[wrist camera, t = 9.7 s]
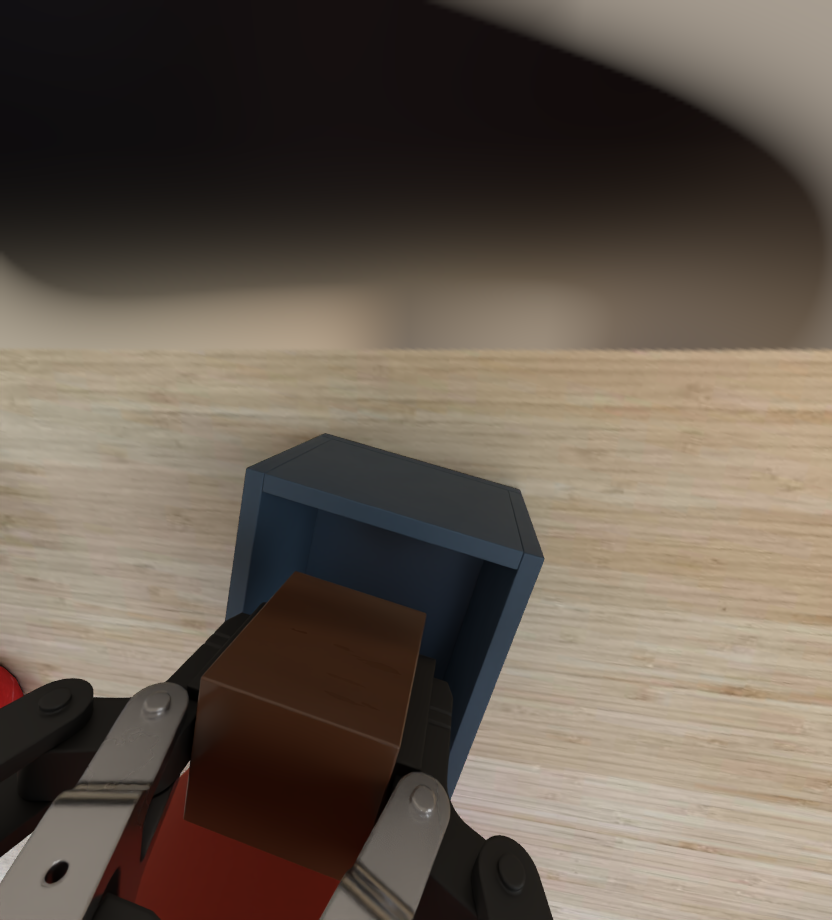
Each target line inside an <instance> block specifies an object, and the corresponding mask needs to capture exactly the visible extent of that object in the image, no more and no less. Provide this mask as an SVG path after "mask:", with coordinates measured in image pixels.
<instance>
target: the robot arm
mask: <svg viewBox="0 0 832 920" xmlns="http://www.w3.org/2000/svg"><path fill="white" fill-rule="evenodd" d="M266 603H267V602H262V603H261V604H260V605H259V606H258V607H257V609H256V610H255V611H254V612H253V613H252V614H251V615H249V614H246V613H243V612H242V613H240V614H238V615H236V616H234V617H232V618H230V619H228V620H226V621H225V622H224V623H223V624H222V625H221V626H220V627H219V628H218V629H217V630H216V631H215V633H214V634H212V635H211V636H210V637H209V638H208V640H207V641H206V642H205V644H203V645H202V646H201V647H200V648H199V649H198V650H197V651H196V652H195V653H194V654H193V655H192V656H191V657H190V658H189V659H188V660H187V661H186V662H185V663H184V664H183V665H182V666H181V667H180V668H179V669H178V670H177V671H176V672H175V673H174V674H173V675H172V676H171V677H170V678H169V679H168V680H167V681H166V682H164V683H158V684H154V685H151V686H148V687H146V688H144V689H142V690H141V691H139V692H138V693H136V694H135V695H134V696H133V697H130V698H100V697H93V688H92V686H91V684H90V683H88V682H87V681H85V680H82V679H75V678H70V679H62V680H58V681H54V682H51V683H48V684H46V685H44V686H42V687H40V688H38V689H36V690H34V691H32V692H30V693H28V694H26V695H24V696H23V697H21V698H19V699H17V700H15V701H13V702H11V703H9V704H7V705H6V706H4V707H2V708H0V857H1V856H3V855H4V854H5V853H7V852H8V851H9V850H10V849H12V848H13V847H14V846H16V845H17V844H18V843H19V842H21V841H22V840H23V839H24V838H26V837H27V836H28V835H30V834H31V833H32V832H33V831H34V832H33V833H32V835H31V836H30V838H29V839H28V841H27V842H26V844H25V846H24V847H23V849H22V850H21V852H20V853H19V855H18V856H17V858H16V860H15V861H14V863H13V864H12V866H11V867H10V869H9V870H8V872H7V873H6V875H5V877H4V878H3V880H2V881H1V883H0V920H161V919H160V918H159V917H158V916H157V915H156V914H155V912H154V911H152V910H150V909H147V908H145V907H143V906H140V905H138V904H135V900H136V896H137V892H138V888H139V884H140V881H141V878H142V875H143V872H144V869H145V866H146V864H147V861H148V859H149V856H150V853H151V851H152V848H153V846H154V843H155V841H156V838H157V836H158V833H159V831H160V828H161V825H162V823H163V820H164V818H165V815H166V813H167V810H168V808H169V805H170V803H171V800H172V797H173V795H174V792H175V790H176V787H177V785H178V782H179V778H180V773H181V772H182V771H183V769H184V768H185V766H186V765H187V764H188V762H189V761H190V760H191V752H192V744H193V736H194V728H195V720H196V712H197V704H198V696H199V688H200V680H201V677H202V676H203V674H204V673H205V672H206V671H207V670H208V669H209V668H210V667H211V665H212V664H213V663H214V662H215V661H216V660H217V659H218V657H219V656H220V655H221V654H222V653H223V652H224V651H225V650H226V648H227V647H228V646H229V645H230V644H231V643H232V642H233V641H234V639H235V638H236V637H237V636H238V635H239V634H240V633H241V631H242V630H243V629H244V628H245V627H246V626H247V625H248V624H249V622H250V621H251V620H252V619H253V618H254V617H255V616H256V615H257V613H258V612H259V611H260V610H261V609H262V608H263V607H264V605H265V604H266ZM435 664H436V659H434V658H431V657H428V656H425V655H422V654H419V656H418V661H417V666H416V671H415V676H414V681H413V686H412V691H411V696H410V701H409V706H408V711H407V716H406V721H405V726H404V731H403V736H402V741H401V746H400V750H399V753H398V756H397V759H396V762H395V766H394V769H393V772H392V775H391V778H390V781H389V784H388V787H387V790H386V793H385V797H384V800H383V803H382V806H381V809H380V812H379V815H378V818H377V821H376V824H375V826H374V828H373V830H372V832H371V834H370V836H369V838H368V839H367V841H366V843H365V845H364V847H363V849H362V851H361V852H360V854H359V856H358V858H357V860H356V862H355V863H354V865H353V867H352V868H351V869H348V870H347V872H346V873H345V875H344V876H343V878H342V880H341V881H340V883H339V885H338V886H337V888H336V890H335V892H334V894H333V896H332V897H331V899H330V901H329V903H328V905H327V906H326V908H325V910H324V912H323V914H322V916H321V917H320V919H319V920H553V917H552V914H551V911H550V908H549V905H548V902H547V899H546V895H545V892H544V889H543V886H542V883H541V880H540V877H539V874H538V871H537V868H536V866H535V864H534V862H533V860H532V859H531V857H530V856H529V854H528V853H527V852H526V851H525V849H524V848H523V847H522V846H521V845H520V844H518V843H517V842H516V841H514V840H513V839H511V838H509V837H506V836H501V835H497V836H493V837H490V838H489V839H487V840H485V839H484V838H483V837H481V836H480V835H479V834H478V833H477V832H475V831H474V830H473V829H472V828H470V827H469V826H468V825H467V824H466V823H465V822H464V821H463V820H462V819H461V818H460V817H459V815H458V814H457V812H456V811H455V809H454V807H453V805H452V803H451V801H450V798H449V794H448V788H447V777H448V763H449V748H450V734H451V730H450V729H451V719H452V717H451V715H452V705H453V696H452V693H451V691H450V688H449V685H448V682H446V681H443V680H440V679H437V678H434V671H435Z"/></svg>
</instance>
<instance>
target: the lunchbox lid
mask: <svg viewBox="0 0 832 920" xmlns="http://www.w3.org/2000/svg"><path fill="white" fill-rule="evenodd" d="M188 776H189V769H188V770H186V771H185V772H184V773H183V774H182V775H181V776H180V778H179V782H178V785H177V787H176V790H175V792H174V795H173V797H172V800H171V803H170V805H169V808H168V810H167V813H166V815H165V818H164V820H163V823H162V825H161V828H160V831H159V833H158V836H157V838H156V841H155V843H154V846H153V848H152V851H151V853H150V856H149V859H148V861H147V864H146V866H145V869H144V872H143V875H142V878H141V881H140V884H139V888H138V892H137V896H136V900H135V904H138V905H140V906H143V907H145V908H147V909H150V910H152V911H154V912H155V914H156V915H157V916H158V917H159V918H160V919H161V920H319V919H320V917H321V916H322V914H323V912H324V910H325V908H326V906H327V905H328V903H329V901H330V899H331V897H332V896H333V894H334V892H335V890H336V888H337V886H338V885H339V883H340V881H339V880H336V879H334V878H331V877H329V876H326V875H324V874H321V873H318V872H316V871H313V870H311V869H308V868H306V867H303V866H300V865H298V864H295V863H293V862H290V861H288V860H285V859H283V858H280V857H277V856H275V855H272V854H270V853H267V852H265V851H262V850H260V849H257V848H254V847H252V846H249V845H247V844H244V843H242V842H239V841H237V840H234V839H231V838H229V837H226V836H224V835H221V834H219V833H216V832H213V831H211V830H208V829H206V828H203V827H201V826H198V825H196V824H193V823H190V822H188V821H185V820H184V819H183V815H184V807H185V799H186V791H187V784H188Z"/></svg>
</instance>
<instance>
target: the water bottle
mask: <svg viewBox="0 0 832 920" xmlns="http://www.w3.org/2000/svg"><path fill="white" fill-rule="evenodd" d="M21 697H23V692H22V690H21V688H20V686H19V684H18V682H17V680H16V678H14V677H13V676H12V675H11V674H10V673H9V672H8V671H7V670H6V669H5V668H4V667H2V666H0V708H2V707H4V706H6V705H7V704H9V703H11V702H13V701H15V700H17V699H19V698H21Z"/></svg>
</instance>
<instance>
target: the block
mask: <svg viewBox="0 0 832 920" xmlns="http://www.w3.org/2000/svg"><path fill="white" fill-rule="evenodd" d="M425 620H426V613H424V612H421V611H418V610H415V609H412V608H409V607H406V606H403V605H399V604H396V603H393V602H390V601H387V600H384V599H381V598H378V597H375V596H372V595H369V594H365V593H362V592H359V591H356V590H353V589H350V588H347V587H344V586H341V585H338V584H335V583H331V582H328V581H325V580H322V579H319V578H316V577H313V576H310V575H307V574H304V573H301V572H297V571H295V572H294V573H293V574H292V575H291V576H290V577H289V578H288V580H287V581H286V582H285V583H284V584H283V585H282V586H281V587H280V589H279V590H278V591H277V592H276V593H275V594H274V595H273V596H272V598H271V599H270V600H269V601H268V602H267V603H266V604H265V605H264V607H263V608H262V609H261V610H260V611H259V612H258V613H257V615H256V616H255V617H254V618H253V619H252V620H251V621H250V622H249V624H248V625H247V626H246V627H245V628H244V629H243V630H242V631H241V633H240V634H239V635H238V636H237V637H236V638H235V639H234V641H233V642H232V643H231V644H230V645H229V646H228V647H227V648H226V650H225V651H224V652H223V653H222V654H221V655H220V656H219V657H218V659H217V660H216V661H215V662H214V663H213V664H212V665H211V667H210V668H209V669H208V670H207V671H206V672H205V673H204V674H203V676H202V677H201V680H200V688H199V696H198V704H197V712H196V720H195V728H194V736H193V744H192V752H191V760H190V768H189V776H188V784H187V791H186V799H185V807H184V815H183V819H184V820H185V821H188V822H190V823H193V824H196V825H198V826H201V827H203V828H206V829H208V830H211V831H213V832H216V833H219V834H221V835H224V836H226V837H229V838H231V839H234V840H237V841H239V842H242V843H244V844H247V845H249V846H252V847H254V848H257V849H260V850H262V851H265V852H267V853H270V854H272V855H275V856H277V857H280V858H283V859H285V860H288V861H290V862H293V863H295V864H298V865H300V866H303V867H306V868H308V869H311V870H313V871H316V872H318V873H321V874H324V875H326V876H329V877H331V878H334V879H336V880H339V881H341V880H342V878H343V876H344V875H345V873H346V872H347V870H348V869H351V868H352V867H353V865H354V863H355V862H356V860H357V858H358V856H359V854H360V852H361V851H362V849H363V847H364V845H365V843H366V841H367V839H368V838H369V836H370V834H371V832H372V830H373V828H374V826H375V824H376V821H377V818H378V815H379V812H380V809H381V806H382V803H383V800H384V797H385V793H386V790H387V787H388V784H389V781H390V778H391V775H392V772H393V769H394V766H395V762H396V759H397V756H398V753H399V750H400V746H401V741H402V736H403V731H404V726H405V721H406V716H407V711H408V706H409V701H410V696H411V691H412V686H413V681H414V676H415V671H416V666H417V661H418V656H419V651H420V646H421V641H422V636H423V631H424V626H425Z"/></svg>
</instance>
